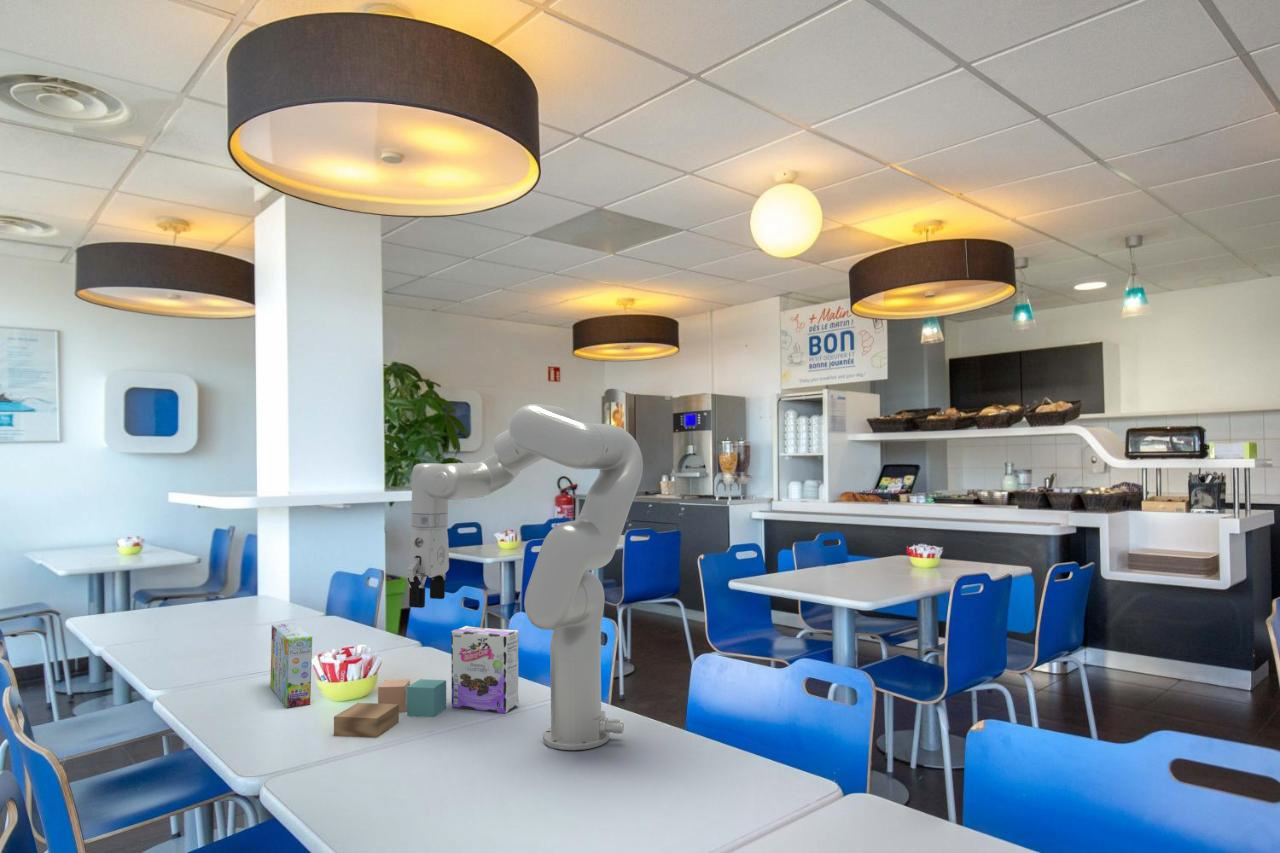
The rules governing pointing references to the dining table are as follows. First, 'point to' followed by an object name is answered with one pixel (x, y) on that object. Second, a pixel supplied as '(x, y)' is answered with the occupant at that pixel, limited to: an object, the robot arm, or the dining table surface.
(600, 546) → the robot arm
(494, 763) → the dining table surface
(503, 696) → the candy box
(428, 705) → the teal cube
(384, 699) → the terracotta cube
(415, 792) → the dining table surface
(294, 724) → the dining table surface
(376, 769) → the dining table surface
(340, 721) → the walnut block
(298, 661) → the snack box
